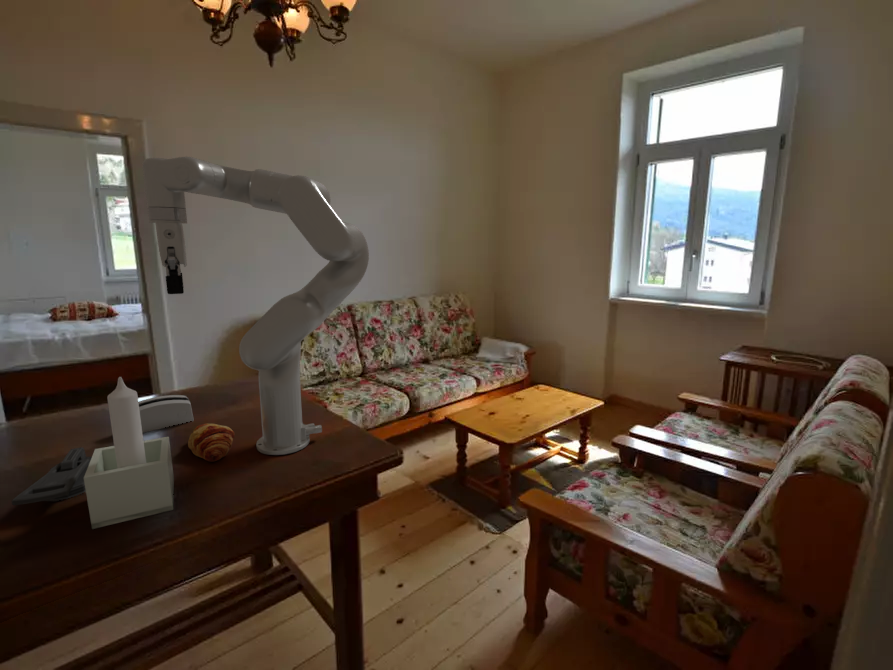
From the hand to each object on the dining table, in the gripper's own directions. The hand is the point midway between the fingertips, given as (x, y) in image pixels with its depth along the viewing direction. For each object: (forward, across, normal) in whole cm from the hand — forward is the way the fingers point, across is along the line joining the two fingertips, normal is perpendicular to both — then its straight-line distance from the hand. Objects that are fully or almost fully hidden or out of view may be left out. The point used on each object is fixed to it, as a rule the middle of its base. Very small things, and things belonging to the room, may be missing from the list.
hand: (175, 291), depth 107 cm
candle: (+38, -26, +10) cm, 47 cm away
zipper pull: (+39, -15, +23) cm, 47 cm away
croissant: (+39, -6, -4) cm, 39 cm away
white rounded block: (+39, +14, +8) cm, 42 cm away
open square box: (+38, -25, +10) cm, 47 cm away
